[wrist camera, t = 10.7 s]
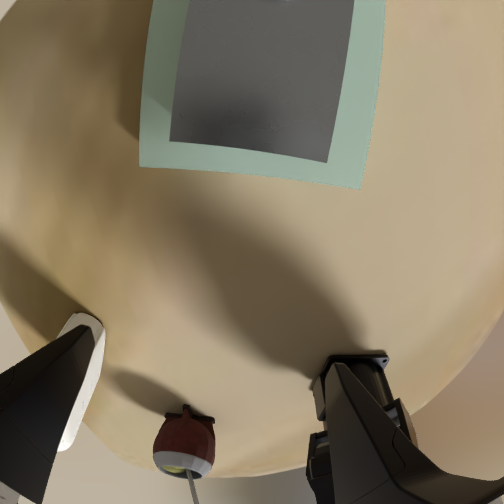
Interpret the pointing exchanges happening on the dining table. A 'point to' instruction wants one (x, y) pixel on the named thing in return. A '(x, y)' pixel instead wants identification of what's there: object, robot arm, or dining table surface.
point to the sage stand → (249, 161)
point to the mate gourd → (185, 447)
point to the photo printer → (90, 376)
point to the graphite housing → (262, 75)
